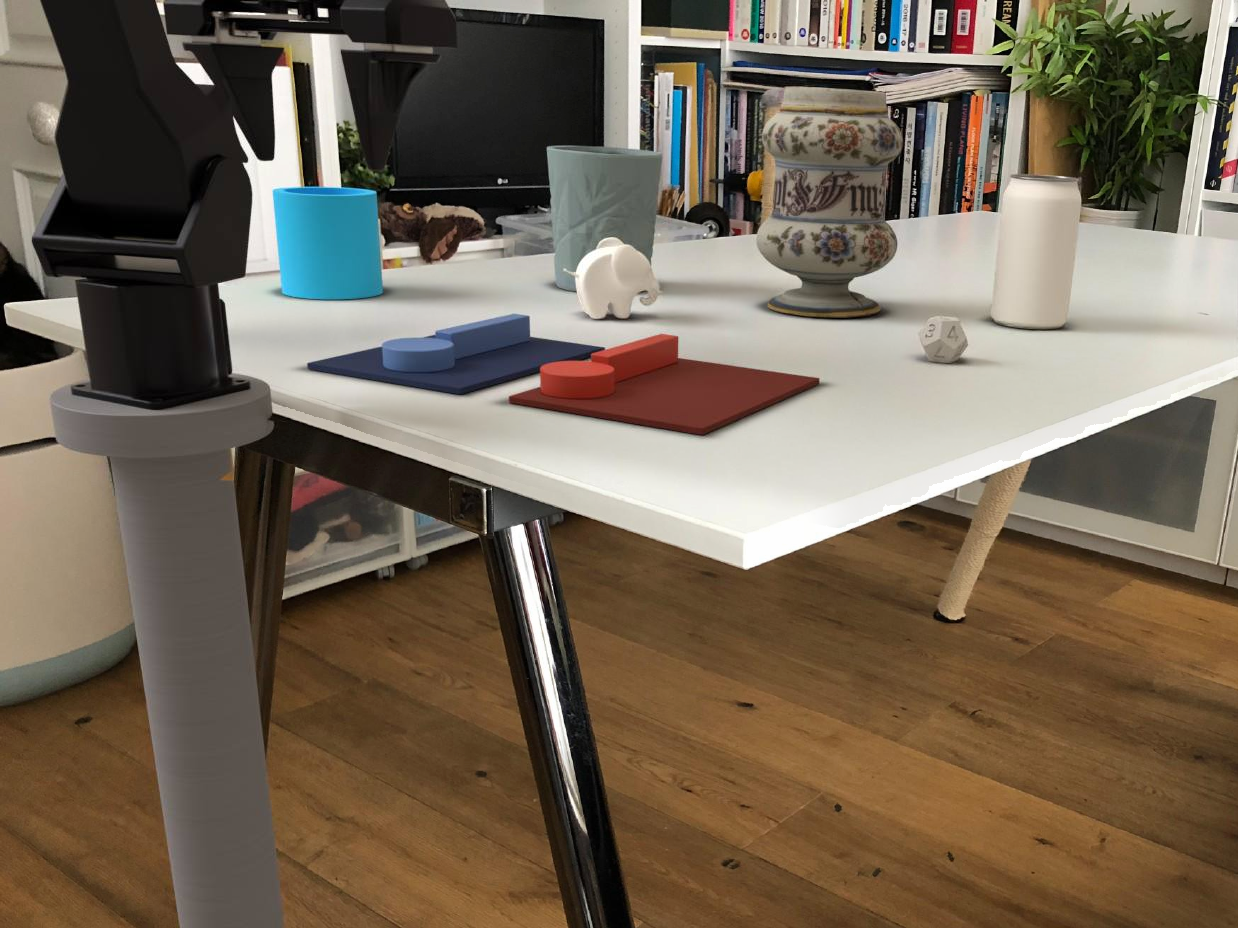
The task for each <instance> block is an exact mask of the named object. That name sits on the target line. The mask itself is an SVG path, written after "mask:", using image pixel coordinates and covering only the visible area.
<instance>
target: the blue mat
mask: <svg viewBox="0 0 1238 928" xmlns="http://www.w3.org/2000/svg"><path fill="white" fill-rule="evenodd" d="M421 338H436V336H435V334H432V335H426V336H423V337H422V336H421ZM603 350H606V347H605V346H597V345H592V344H584V343H577V342H569V341H563V340H556V339H549V338H543V337H536V336H530V341H528V342H524V343H520V344H516V345H512V346H508V347H504V348H500V349H496V350H492V351H488V352H484V353H480V354H476V355H472V356H468V357H464V358H460V359H456V360H455V365H454V367H453V368H451V369H448V370H444V371H438V372H428V373H408V372H398V371H393V370H389V369H387V368H385V367H384V366H383V352H382V346H378V347H373V348H369V349H365V350H360V351H355V352H351V353H346V354H342V355H337V356H333V357H328V358H323V359H318V360H315V361H310V362H307V364H306V367H307V370H313V371H318V372H324V373H328V374H329V373H330V374H336V375H341V376H348V377H353V378H358V379H359V378H360V379H364V380H365V379H366V380H371V381H378V382H385V383H389V384H395V385H401V386H407V387H412V388H418V389H419V388H420V389H424V390H432V391H437V392H443V393H448V394H456V395H464V394H467V393H471V392H474V391H477V390H480V389H484V388H485V389H486V388H488V387H491V386H496V385H499V384H502V383H505V382H508V381H512V380H516V379H519V378H523V377H526V376H529V375H533V374H536V373H540V368H541V366H543V365H545V364H548V363H553V362H560V361H583V360H585V359H588V358H591V354H592V353H596V352H599V351H603Z"/></svg>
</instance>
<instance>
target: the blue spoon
mask: <svg viewBox="0 0 1238 928" xmlns="http://www.w3.org/2000/svg"><path fill="white" fill-rule="evenodd" d="M530 316H531V315H527V314H519V313H511V314H510V313H509V314H506V315H501V316H496V317H493V318H488V319H487V318H486V319H482V320H478V321H474V322H469V323H465V324H461V325H456V326H452V327H447V328H442V329H437V330H435V333H434V335H435V336H436V338H422V337H402V338H401V337H400V338H395V339H390V340H386V341H384V342H383V343H382V344H381V347H382V352H383V366H384V367H385V368H387V369H389V370H393V371H398V372H408V373H428V372H438V371H444V370H448V369H451V368H453V367H454V365H455V360H456V359H460V358H464V357H468V356H472V355H476V354H480V353H484V352H488V351H492V350H496V349H500V348H504V347H508V346H512V345H516V344H520V343H524V342H528V341H530V337H531V317H530Z"/></svg>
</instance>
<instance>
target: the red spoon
mask: <svg viewBox="0 0 1238 928" xmlns="http://www.w3.org/2000/svg"><path fill="white" fill-rule="evenodd" d="M678 358H679V336H678V335H673V334H666V333H659V334H655V335H652V336H648V337H645V338H642V339H638V340H634V341H631V342H627V343H624V344H620V345H617V346H613V347H610V348H607V349H606V348H605V350H603V351H599V352H596V353H592V354H591V357H590V361H589V360H578V361H560V362H553V363H548V364H545V365H543V366H541V368H540V372H539V381H540V382H539V383H540V386H539V387H541V392H542V393H544V394H546V395H548V396H552V397H557V398H564V399H594V398H601V397H605V396H609V395H611V394H613V393H614V383H616V382H619V381H622V380H625V379H628V378H632V377H635V376H638V375H641V374H644V373H647V372H650V371H653V370H656V369H659V368H662V367H665V366H668V365H671V364H674V363H677V362H678Z"/></svg>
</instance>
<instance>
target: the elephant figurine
mask: <svg viewBox="0 0 1238 928" xmlns="http://www.w3.org/2000/svg"><path fill="white" fill-rule="evenodd" d="M563 270H564V271H566V272H568V273H570V274H572V275H573V276H575V282H576V289H577V291H576V294H577V297H578V300H579V302H580V306H581V308H582V310H583V311H584V313H585V314H586V315H588V316H589V317H590V318H591V319H594V320H600V319H601V320H602V319H604V318H605V317H606V316H607V313H610V314H612V315H614V317H615V318H617V319H622V320H623V319H628V318H629V317H630V315H631V310H632V305H633V301H634V300H635V297H636V296H637V295H638V294H639V293H641V292H644V291H646V292H647V293H648V297H643V296H640V297H639V298H638V299H639V300H638V301H639V302H640V304H642V305H643V306H646V307H649V306H651V305H653V304H654V303H655V302H656V301H657V300H658V297H659V294H664V292H663V291H661V290H660V289H661V287H660V283H659V281H658V279H657V278H656V276H655V274H654V271H653V268H652V264H651V265H650V263H649V261H648V259H647V258H646V257H645V256H644V255H643V254H642V253H640V252H639V251H637V250H636V249H635V248H633V247H632V246H631V245H627V244H626V245H624V243H623V242H622V241H620V240H619V239H617V238H615V237H610V238H605V239H603V240H602V241H600V242H599V244H598V246H597V248H596V250H594V251H592V252H590V253H589V254H587V255H586V256H585V257H584V258H583V259H582V260H581V262H580V263H579V265H578V267H577V270H576V272H569V271H567V270H566V269H563Z"/></svg>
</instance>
